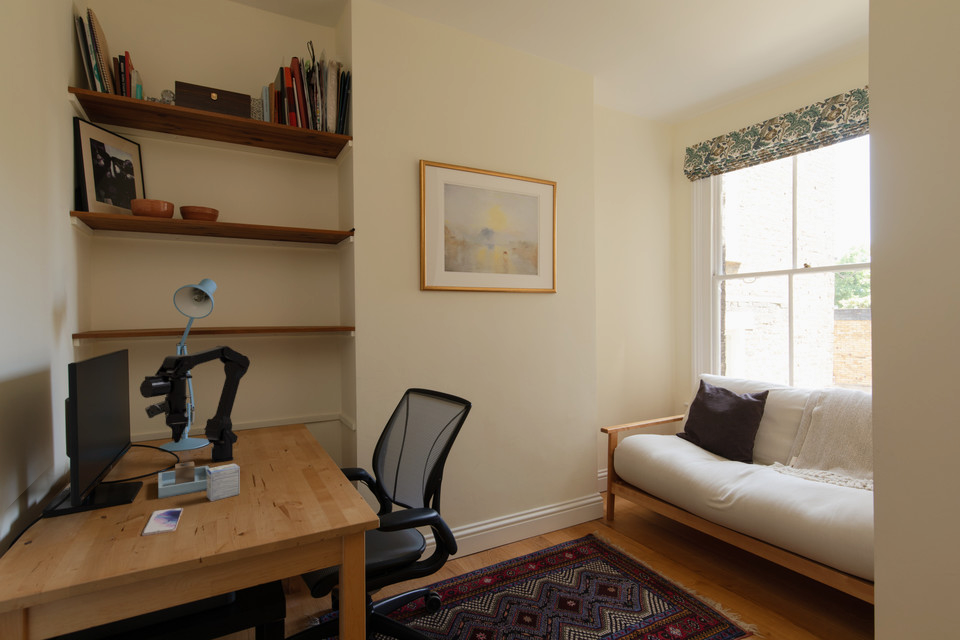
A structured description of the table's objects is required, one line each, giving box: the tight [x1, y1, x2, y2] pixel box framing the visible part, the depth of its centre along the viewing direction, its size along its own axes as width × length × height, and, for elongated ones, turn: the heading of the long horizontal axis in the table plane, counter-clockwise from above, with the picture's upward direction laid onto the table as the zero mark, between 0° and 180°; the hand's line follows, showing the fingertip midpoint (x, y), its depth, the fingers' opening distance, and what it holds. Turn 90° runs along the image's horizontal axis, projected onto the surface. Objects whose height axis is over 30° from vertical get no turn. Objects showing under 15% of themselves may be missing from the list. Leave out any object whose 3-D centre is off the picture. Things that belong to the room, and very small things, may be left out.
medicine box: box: [206, 463, 241, 502], centre depth 142 cm, size 8×4×9 cm, turn 134°
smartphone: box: [141, 507, 184, 537], centre depth 125 cm, size 7×1×15 cm
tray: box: [157, 465, 210, 499], centre depth 150 cm, size 14×16×3 cm
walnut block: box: [174, 461, 196, 485], centre depth 150 cm, size 5×5×6 cm
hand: (176, 439), depth 160 cm, fingers open, 9 cm apart
